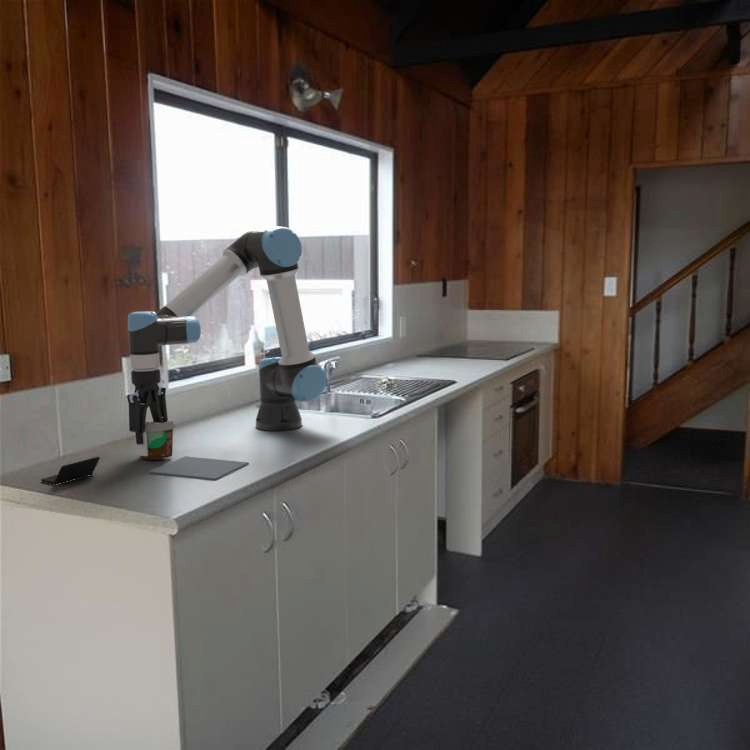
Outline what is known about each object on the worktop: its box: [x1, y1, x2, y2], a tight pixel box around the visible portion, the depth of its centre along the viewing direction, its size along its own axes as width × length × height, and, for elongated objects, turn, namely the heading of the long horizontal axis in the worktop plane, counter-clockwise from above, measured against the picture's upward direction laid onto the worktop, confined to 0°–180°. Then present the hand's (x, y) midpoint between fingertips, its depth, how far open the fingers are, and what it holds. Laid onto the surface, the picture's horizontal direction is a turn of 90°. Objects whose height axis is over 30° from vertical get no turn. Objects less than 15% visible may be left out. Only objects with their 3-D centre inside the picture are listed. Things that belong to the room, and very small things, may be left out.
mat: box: [148, 455, 250, 481], centre depth 195 cm, size 16×20×1 cm
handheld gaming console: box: [40, 456, 101, 486], centre depth 186 cm, size 12×7×10 cm
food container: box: [139, 420, 176, 460], centre depth 203 cm, size 12×6×10 cm, turn 69°
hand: (150, 452), depth 204 cm, fingers closed on food container, 6 cm apart
